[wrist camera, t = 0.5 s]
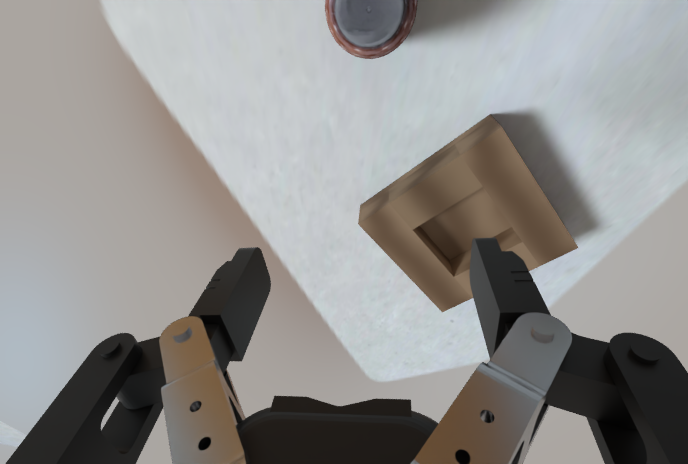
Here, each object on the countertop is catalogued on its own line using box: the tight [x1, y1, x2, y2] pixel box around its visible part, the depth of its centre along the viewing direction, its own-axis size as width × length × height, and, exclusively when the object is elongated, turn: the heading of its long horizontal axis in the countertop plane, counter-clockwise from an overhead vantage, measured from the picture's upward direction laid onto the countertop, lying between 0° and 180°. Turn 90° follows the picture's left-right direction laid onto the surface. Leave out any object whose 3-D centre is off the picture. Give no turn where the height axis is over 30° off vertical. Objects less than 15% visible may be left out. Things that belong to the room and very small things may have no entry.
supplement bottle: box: [325, 0, 417, 59], centre depth 25 cm, size 6×6×11 cm
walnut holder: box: [358, 115, 578, 312], centre depth 38 cm, size 16×16×4 cm
